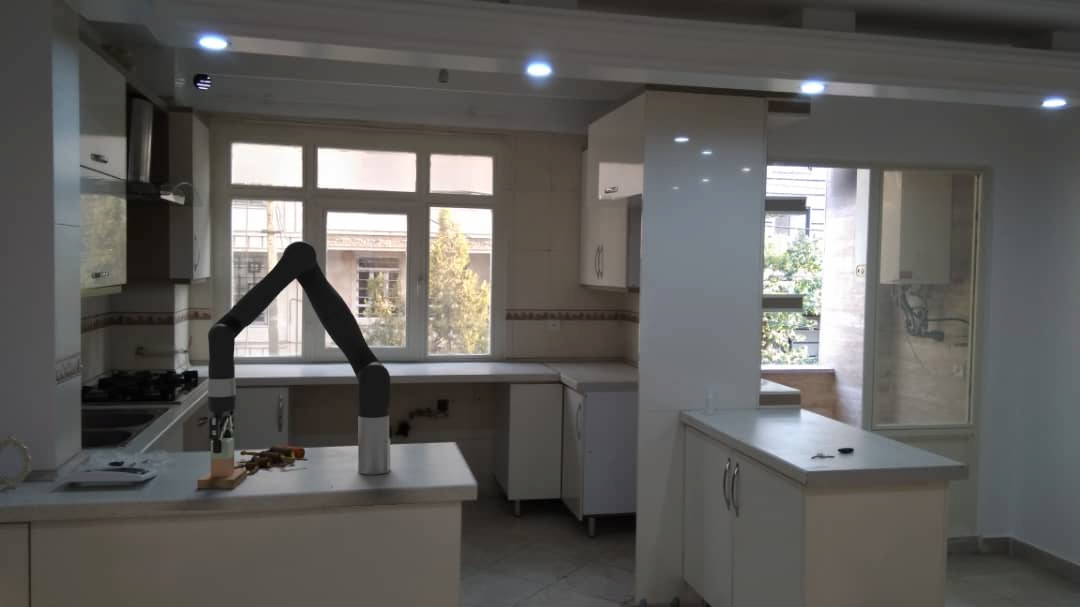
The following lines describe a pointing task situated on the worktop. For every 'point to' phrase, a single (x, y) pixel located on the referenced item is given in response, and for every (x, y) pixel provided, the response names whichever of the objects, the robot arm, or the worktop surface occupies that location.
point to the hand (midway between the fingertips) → (222, 449)
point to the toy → (271, 457)
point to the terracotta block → (222, 467)
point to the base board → (222, 480)
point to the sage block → (224, 449)
